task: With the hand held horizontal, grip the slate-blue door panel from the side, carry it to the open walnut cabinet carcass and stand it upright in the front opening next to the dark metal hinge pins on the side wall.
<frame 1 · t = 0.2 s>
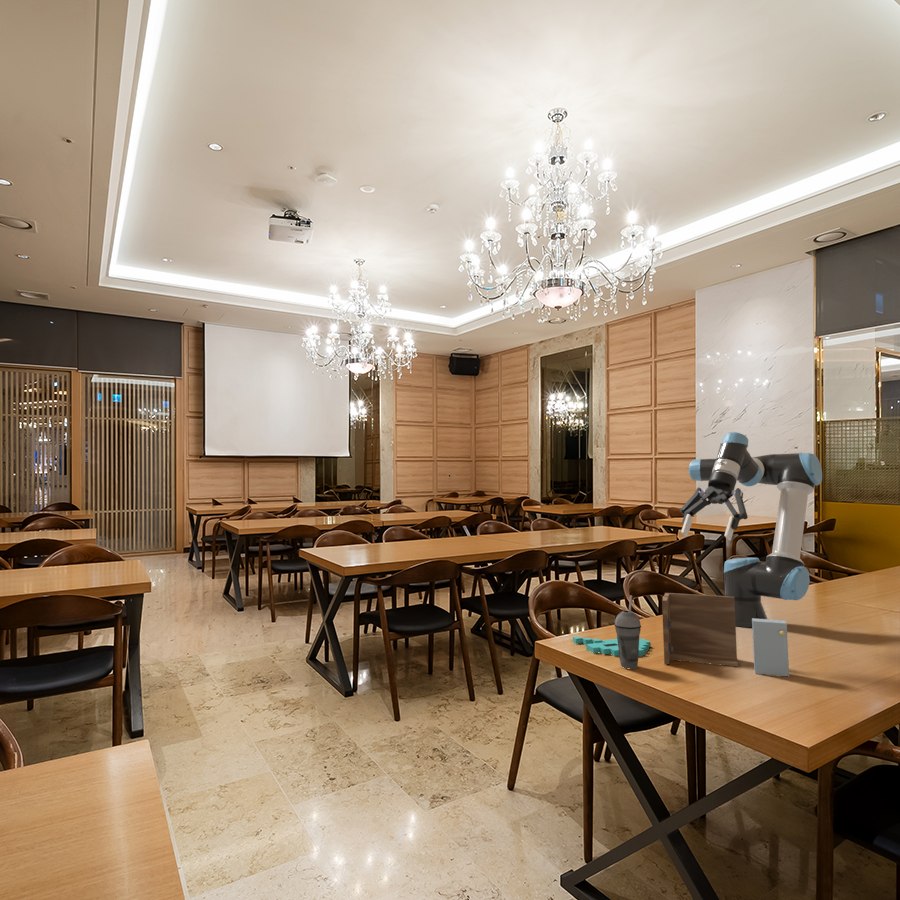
hand: (705, 536, 175), 35 cm above the table, tool tilted 35°, fingers open, 13 cm apart
door: (771, 673, 158), on the table
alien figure: (616, 649, 184), on the table
cabinet: (699, 661, 169), on the table
beverage cup: (629, 667, 165), on the table
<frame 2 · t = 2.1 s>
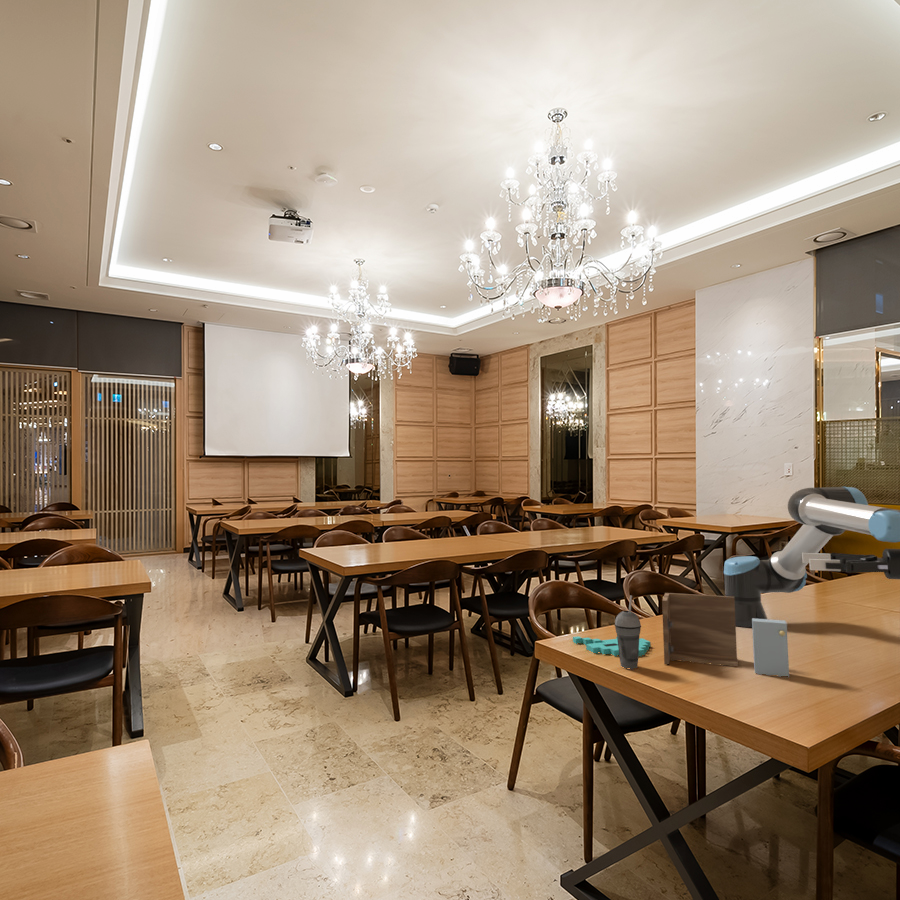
hand: (805, 561, 155), 30 cm above the table, tool horizontal, fingers open, 13 cm apart
nothing on the table moved.
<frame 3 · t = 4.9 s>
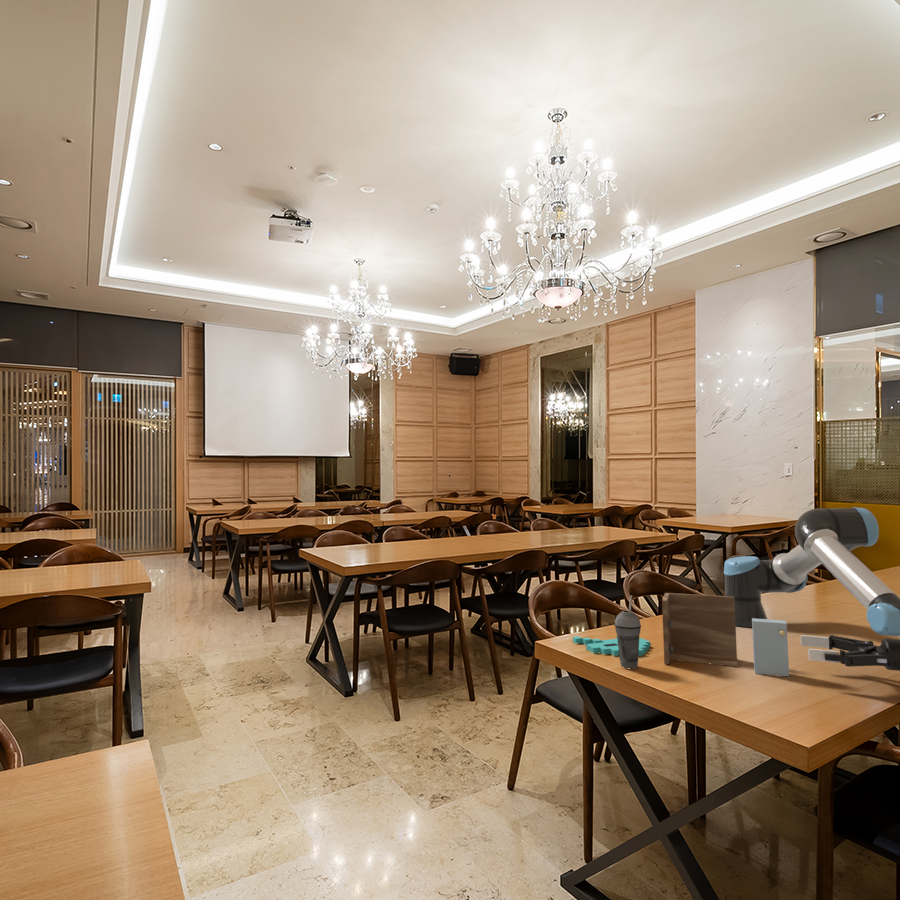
hand: (804, 647, 155), 8 cm above the table, tool horizontal, fingers open, 13 cm apart
nothing on the table moved.
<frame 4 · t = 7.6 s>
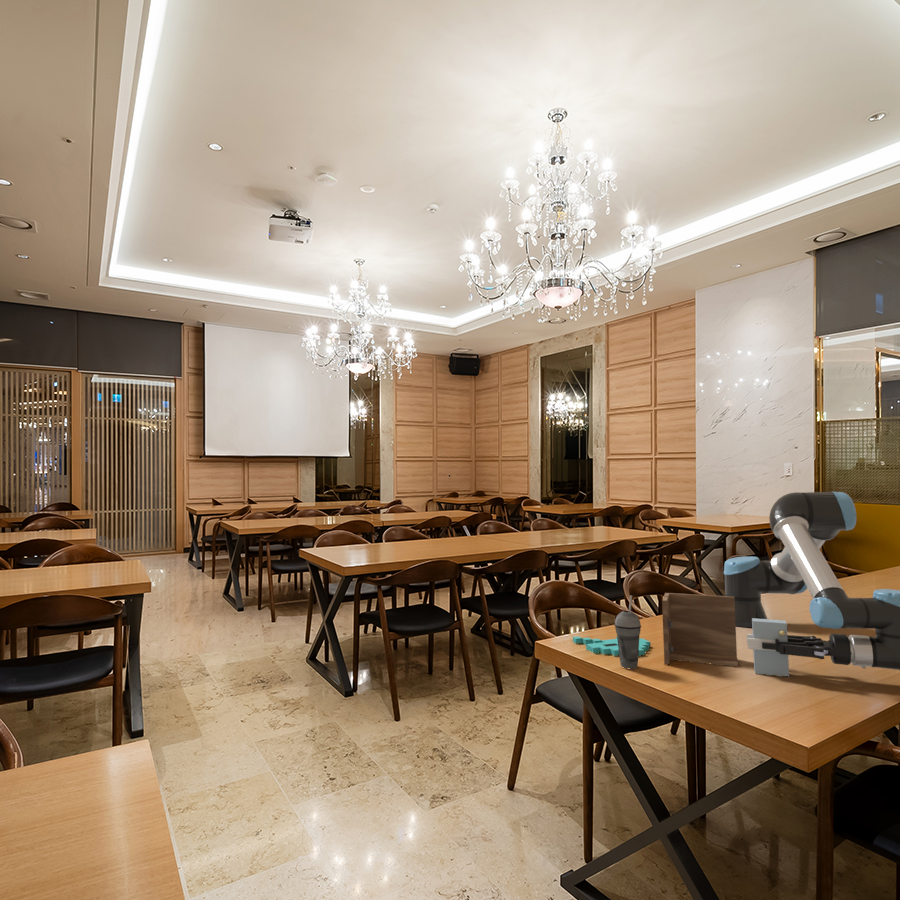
hand: (747, 641, 160), 8 cm above the table, tool horizontal, fingers closed on door, 3 cm apart
door: (771, 673, 158), on the table, touching gripper
everything else where it was.
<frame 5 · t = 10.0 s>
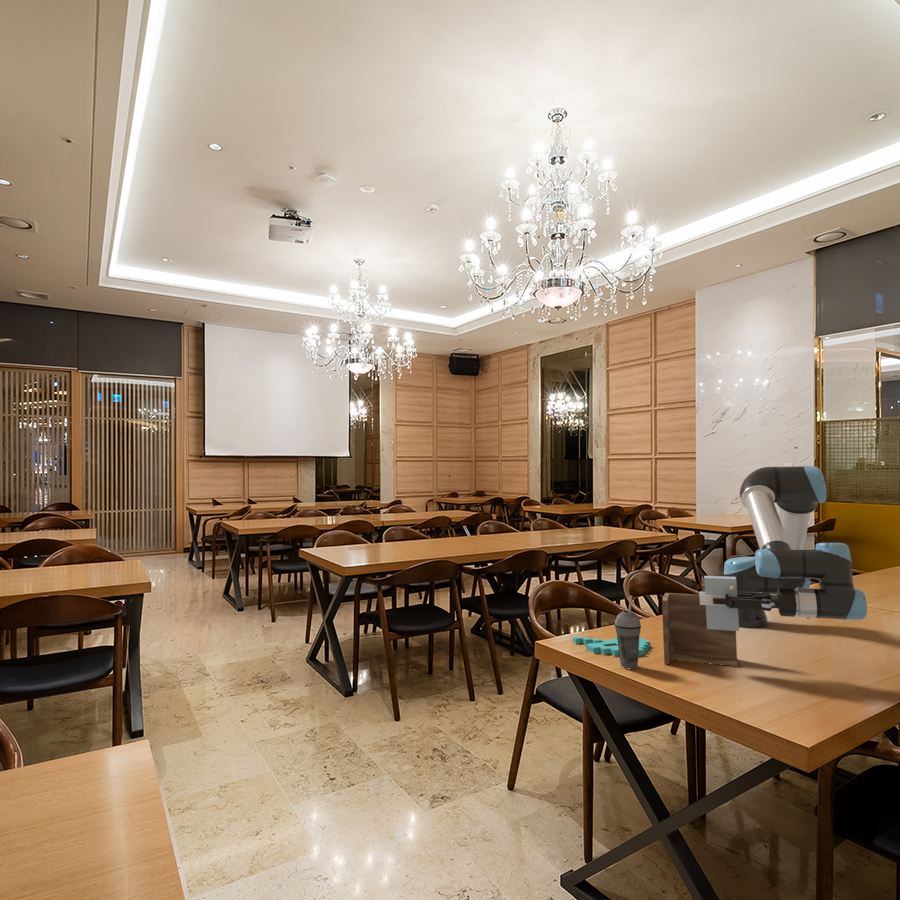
hand: (699, 598, 164), 19 cm above the table, tool horizontal, fingers closed on door, 3 cm apart
door: (722, 628, 162), point 11 cm above the table, touching gripper
everything else where it was.
when the fingers open (9 cm above the table, at t = 12.7 s): door drops 1 cm, on the table.
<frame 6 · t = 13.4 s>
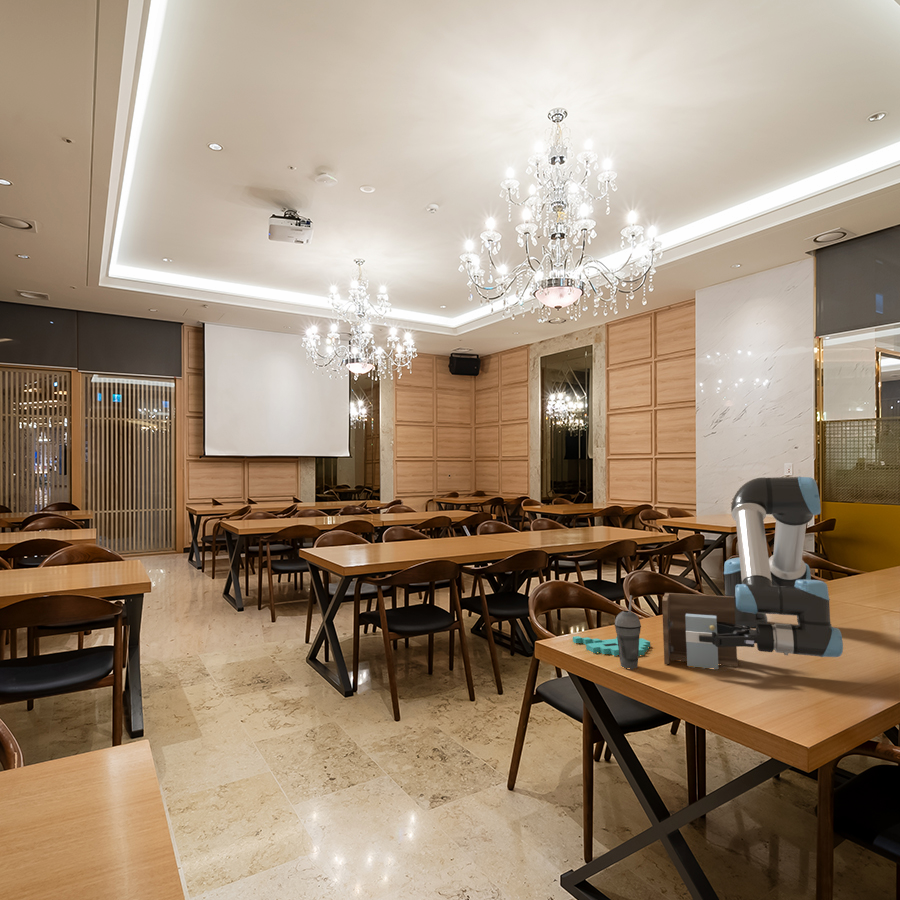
hand: (686, 631, 166), 10 cm above the table, tool horizontal, fingers open, 12 cm apart
door: (702, 666, 165), on the table
everything else where it was.
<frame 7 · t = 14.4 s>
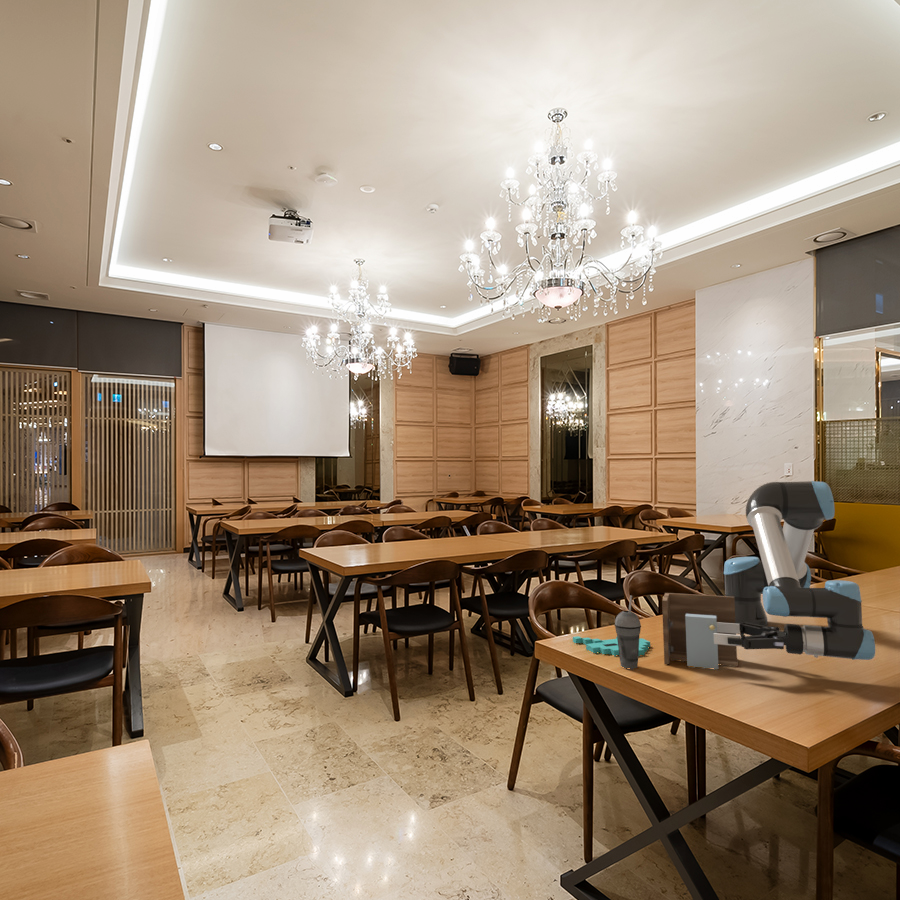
hand: (714, 632, 164), 10 cm above the table, tool horizontal, fingers open, 13 cm apart
nothing on the table moved.
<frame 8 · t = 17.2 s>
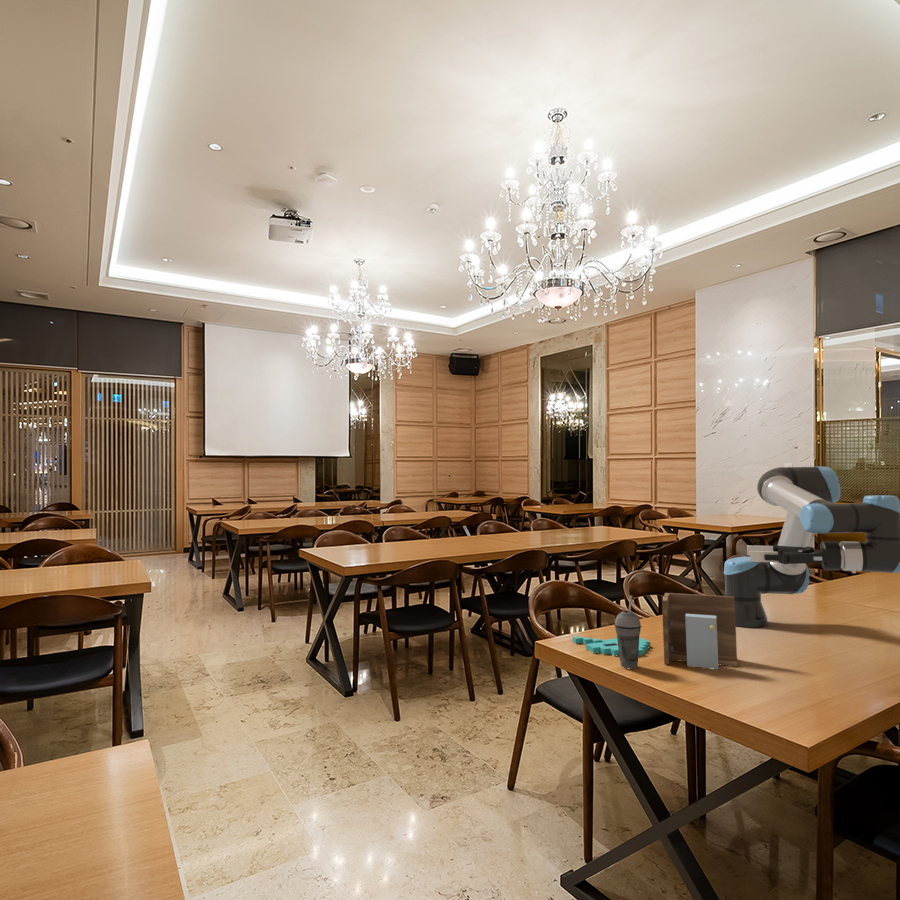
hand: (748, 553, 161), 32 cm above the table, tool horizontal, fingers open, 13 cm apart
nothing on the table moved.
at the end: door inside the target area on the cabinet (1.3 cm from its centre), point 0.0 cm above the cabinet's base; door tilted 0°; the gripper is holding nothing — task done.
